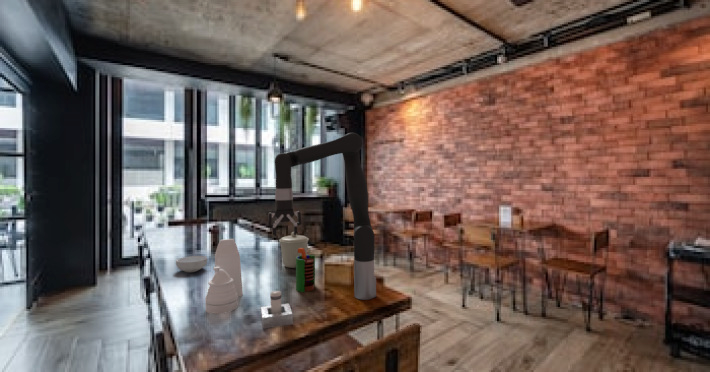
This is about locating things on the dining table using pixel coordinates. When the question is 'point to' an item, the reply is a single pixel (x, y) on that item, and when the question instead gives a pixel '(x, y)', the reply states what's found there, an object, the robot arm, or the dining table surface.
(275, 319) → the box
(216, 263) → the tall white vase
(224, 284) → the honey pot
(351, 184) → the robot arm
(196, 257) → the cereal bowl
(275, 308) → the plug
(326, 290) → the dining table surface
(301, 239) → the canister
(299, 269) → the motor
